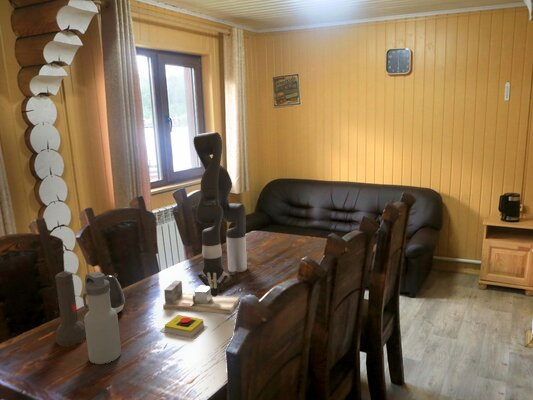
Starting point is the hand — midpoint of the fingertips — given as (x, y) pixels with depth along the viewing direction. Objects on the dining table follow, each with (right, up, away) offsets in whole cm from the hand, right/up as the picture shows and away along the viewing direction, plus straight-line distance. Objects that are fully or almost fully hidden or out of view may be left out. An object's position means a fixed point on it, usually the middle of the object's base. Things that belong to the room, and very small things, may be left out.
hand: (214, 295), depth 174 cm
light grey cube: (-5, -2, +1) cm, 5 cm away
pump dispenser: (-40, -6, -2) cm, 41 cm away
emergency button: (-9, -9, -18) cm, 22 cm away
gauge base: (-6, -4, +2) cm, 7 cm away
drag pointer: (-8, -2, 0) cm, 8 cm away
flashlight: (-47, -10, -23) cm, 53 cm away
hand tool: (+3, 0, +21) cm, 21 cm away
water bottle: (-31, -12, -34) cm, 48 cm away
